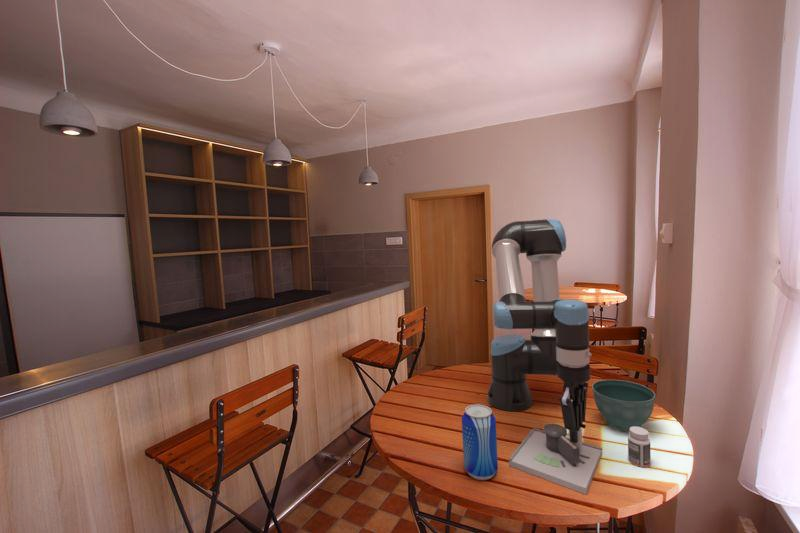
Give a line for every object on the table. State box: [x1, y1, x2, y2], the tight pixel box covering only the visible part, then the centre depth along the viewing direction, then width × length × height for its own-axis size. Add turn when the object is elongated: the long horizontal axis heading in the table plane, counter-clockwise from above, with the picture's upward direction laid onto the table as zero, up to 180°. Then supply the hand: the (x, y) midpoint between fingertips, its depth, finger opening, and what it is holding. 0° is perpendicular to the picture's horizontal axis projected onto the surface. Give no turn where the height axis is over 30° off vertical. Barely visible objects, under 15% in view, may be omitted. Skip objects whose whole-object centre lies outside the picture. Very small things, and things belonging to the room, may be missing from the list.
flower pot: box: [591, 379, 656, 433], centre depth 108 cm, size 16×16×11 cm
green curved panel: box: [534, 453, 590, 468], centre depth 91 cm, size 11×9×1 cm
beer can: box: [461, 403, 499, 481], centre depth 90 cm, size 8×8×16 cm
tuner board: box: [508, 427, 603, 495], centre depth 93 cm, size 18×18×2 cm
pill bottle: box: [627, 426, 652, 468], centre depth 90 cm, size 5×5×8 cm
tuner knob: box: [543, 423, 579, 464], centre depth 93 cm, size 11×6×5 cm, turn 11°
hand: (576, 451), depth 91 cm, fingers closed
